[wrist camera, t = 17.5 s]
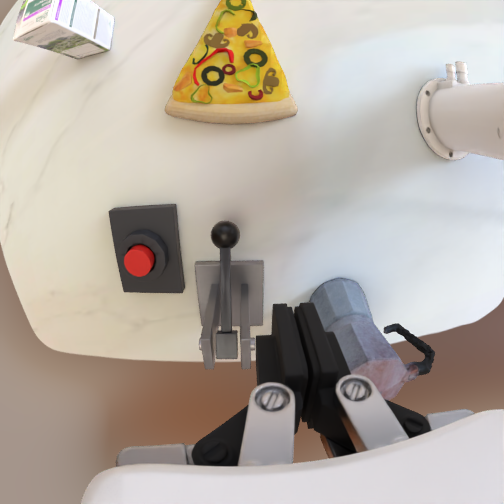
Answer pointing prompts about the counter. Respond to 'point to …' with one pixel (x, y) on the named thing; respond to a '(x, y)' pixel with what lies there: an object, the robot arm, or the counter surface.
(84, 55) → the syrup box
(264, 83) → the pizza slice
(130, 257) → the button
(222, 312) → the lever
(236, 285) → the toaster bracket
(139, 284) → the control block
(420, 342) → the moka pot
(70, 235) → the counter surface
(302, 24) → the counter surface
